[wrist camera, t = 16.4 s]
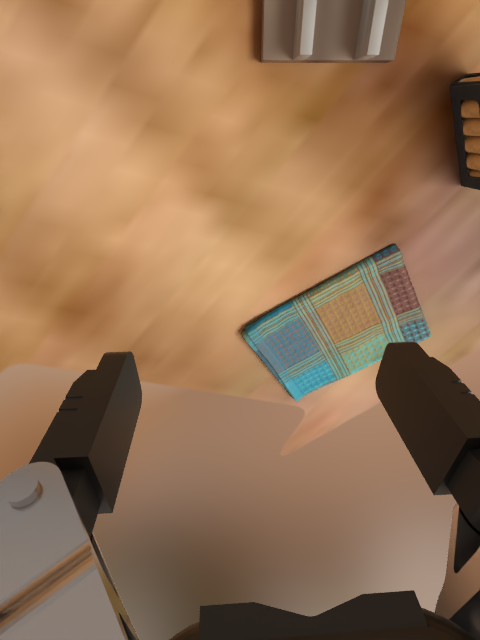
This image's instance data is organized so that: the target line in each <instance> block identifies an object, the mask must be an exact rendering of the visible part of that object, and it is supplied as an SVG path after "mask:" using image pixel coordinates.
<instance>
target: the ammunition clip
mask: <svg viewBox="0 0 480 640" xmlns="http://www.w3.org/2000/svg"><path fill="white" fill-rule="evenodd" d="M450 94H451V102H452V111H453V119H454V128H455V136H456V144H457V153H458V161H459V170H460V178H461V186H464V187H469V188H473V189H478V190H480V73H472V74H467V75H466V76H464V77H462V78H460V79H458V80H457V81H455V82H453V83H451V85H450Z"/></svg>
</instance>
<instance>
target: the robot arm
mask: <svg viewBox="0 0 480 640" xmlns="http://www.w3.org/2000/svg"><path fill="white" fill-rule="evenodd" d="M376 391H377V395H378V397H379V399H380V401H381V403H382V404H383V406H384V408H385V410H386V412H387V413H388V415H389V417H390V418H391V420H392V422H393V424H394V425H395V427H396V429H397V431H398V432H399V434H400V436H401V438H402V440H403V441H404V443H405V445H406V447H407V449H408V450H409V452H410V454H411V456H412V457H413V459H414V461H415V463H416V464H417V466H418V468H419V470H420V471H421V473H422V475H423V477H424V478H425V480H426V482H427V484H428V485H429V487H430V489H431V491H432V493H433V494H434V495H445V494H452V495H453V497H454V499H455V500H456V502H457V503H456V504H455V506H454V508H453V513H452V522H451V531H450V540H449V550H448V560H447V568H446V576H445V581H444V584H443V587H442V590H441V592H440V594H439V597H438V600H437V604H436V608H435V613H434V612H431V611H428V610H426V609H423V608H421V607H420V604H419V602H418V599H417V597H416V594H415V592H414V591H400V592H387V593H373V594H362V595H360V596H358V597H356V598H354V599H351V600H349V601H347V602H345V603H343V604H341V605H339V606H336V607H334V608H332V609H330V610H328V611H326V612H323V613H321V614H319V615H317V616H312V617H308V616H304V615H300V614H296V613H293V612H289V611H285V610H281V609H277V608H274V607H270V606H266V605H262V604H259V603H255V602H250V603H238V604H224V605H211V606H210V605H209V606H200V621H199V622H197V623H195V624H192V625H190V626H188V627H187V628H185V629H184V630H182V631H180V632H179V633H177V634H176V635H175V636H173V637H172V638H171V639H170V640H480V401H479V399H478V398H476V396H475V395H474V394H471V391H470V390H469V389H468V387H467V386H466V385H465V384H464V383H461V380H460V379H459V378H458V377H457V376H456V374H455V373H454V372H453V371H452V370H451V369H450V368H449V367H447V366H446V365H444V364H443V363H441V362H440V361H438V360H437V359H435V358H434V357H429V356H428V355H427V354H426V353H425V351H424V350H423V349H422V348H421V347H420V346H419V345H418V344H417V343H416V342H393V343H388V344H387V346H386V348H385V351H384V354H383V357H382V360H381V364H380V367H379V370H378V374H377V377H376ZM141 402H142V391H141V385H140V381H139V377H138V372H137V368H136V364H135V360H134V356H133V354H132V352H109V353H105V354H104V355H103V357H102V359H101V361H100V363H99V365H98V367H97V369H96V370H87V371H86V372H85V373H83V374H82V375H81V376H80V377H79V378H78V379H77V380H76V381H75V382H74V383H73V384H72V386H71V388H70V390H69V392H68V394H67V395H66V399H65V400H64V401H63V403H62V405H61V406H60V408H59V412H57V414H56V416H55V417H54V419H53V421H52V423H51V425H50V426H49V428H48V430H47V432H46V434H45V436H44V437H43V439H42V441H41V443H40V445H39V447H38V449H37V450H36V452H35V454H34V456H33V458H32V459H31V461H30V463H29V464H28V465H25V466H23V467H21V468H19V469H17V470H15V471H13V472H12V473H11V474H9V475H8V476H6V477H5V478H4V479H3V480H2V481H1V482H0V640H139V638H138V636H137V633H136V631H135V629H134V627H133V624H132V622H131V620H130V618H129V616H128V614H127V611H126V609H125V607H124V605H123V603H122V600H121V598H120V596H119V593H118V591H117V589H116V586H115V584H114V581H113V579H112V577H111V574H110V572H109V570H108V567H107V565H106V562H105V560H104V558H103V555H102V553H101V550H100V548H99V546H98V544H97V541H96V539H95V536H94V534H93V532H92V531H93V528H94V524H95V521H96V518H97V515H98V514H100V513H101V514H102V513H112V512H113V509H114V505H115V501H116V497H117V494H118V490H119V486H120V482H121V479H122V475H123V471H124V468H125V464H126V460H127V456H128V453H129V449H130V445H131V441H132V438H133V434H134V431H135V427H136V423H137V419H138V416H139V412H140V408H141Z"/></svg>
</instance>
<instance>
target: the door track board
mask: <svg viewBox="0 0 480 640" xmlns="http://www.w3.org/2000/svg"><path fill="white" fill-rule="evenodd" d="M405 3H406V0H262V40H261V62H271V63H387V62H390V61H393V60H394V59H395V54H396V49H397V44H398V38H399V33H400V28H401V23H402V18H403V13H404V8H405Z"/></svg>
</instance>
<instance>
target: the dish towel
mask: <svg viewBox="0 0 480 640" xmlns="http://www.w3.org/2000/svg"><path fill="white" fill-rule="evenodd" d="M245 329H246V330H244V331H243V332H242V333H241V334H242V336H243V338H244V339H245V341H246V342H247V343H248V344H249V345H250V347H251V348H252V349H253V350H254V351H255V352H256V353H257V355H258V356H259V357H260V358H261V360H262V361H263V362H264V363H265V364H266V366H267V367H268V368H269V369H270V371H271V372H272V373H273V375H274V376H275V377H276V378H277V379H278V380H279V382H280V383H281V384H282V385H283V386H284V388H285V389H286V390H287V391H288V393H289V394H290V396H291V397H292V398H294V399H295V401H297V402H298V401H300V400H301V399H302V398H303V397H304V396H305V395H307V394H308V393H311V392H313V391H315V390H318V389H319V388H322V387H324V386H326V385H328V384H330V383H333V382H335V381H338V380H340V379H342V378H345V377H347V376H349V375H351V374H353V373H355V372H357V371H359V370H361V369H363V368H365V367H367V366H369V365H371V364H373V363H375V362H378V361H380V360H382V357H383V354H384V351H385V348H386V346H387V344H388V343H393V342H416V343H418V342H421V341H423V340H425V339H427V338H428V337H430V336H431V333H430V331H429V328H428V326H427V323H426V321H425V318H424V315H423V312H422V310H421V307H420V304H419V302H418V299H417V296H416V293H415V291H414V288H413V286H412V283H411V282H410V278H409V275H408V271H407V270H406V267H405V264H404V261H403V258H402V252H401V251H400V250H399V249H398V247H397V245H396V244H393V245H391V246H389V247H387V248H385V249H383V250H381V251H379V252H377V253H375V254H374V255H371V256H370V257H368V258H366V259H364V260H362V261H361V262H359V263H357V264H355V265H354V266H352V267H351V268H349V269H347V270H345V271H344V272H342V273H340V274H338V275H337V276H335V277H333V278H331V279H329V280H327V281H325V282H324V283H322V284H320V285H319V286H317V287H315V288H313V289H312V290H310V291H307V292H305V293H304V294H302V295H300V296H298V297H296V298H294V299H292V300H291V301H289V302H287V303H285V304H283V305H281V306H280V307H278V308H276V309H275V310H273V311H271V312H270V313H268V314H266V315H264V316H263V317H262V318H260V319H258V320H257V321H256V322H254V323H252V324H250V325H249V326H247V327H245Z"/></svg>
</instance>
